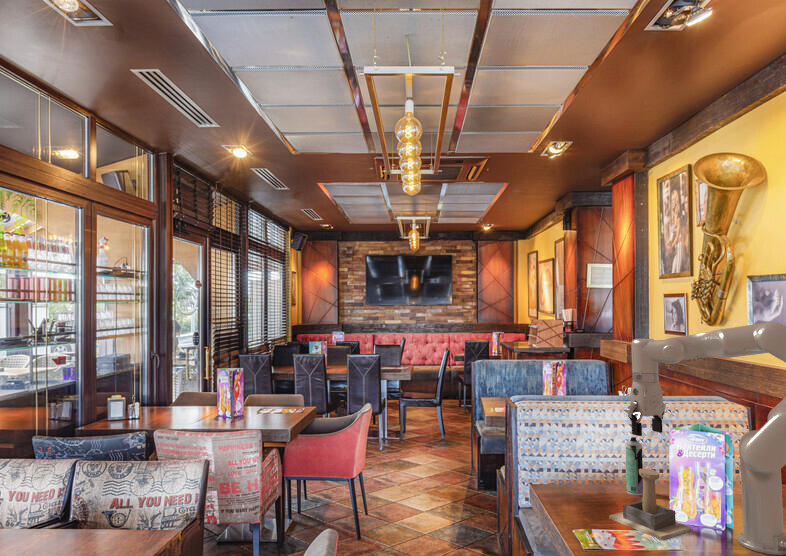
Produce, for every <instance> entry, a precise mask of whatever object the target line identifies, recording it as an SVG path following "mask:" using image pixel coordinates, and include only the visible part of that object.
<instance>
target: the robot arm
mask: <svg viewBox="0 0 786 556" xmlns="http://www.w3.org/2000/svg"><path fill="white" fill-rule="evenodd" d="M630 349H631V371H632V372H631V375H632V377H631V378H632V383H631V391H630V405H628V406H627V407H626V413H627V417H628V418H629V421H630V422H631V435H633V436H637V437H643V423H642V418H643V417H646V418H647V417H652V418H651V427H652V429H651V430H652V432H655V433H663V432H664V431H663V420H664V415H665V409H666V403H664V397H663V390H662V385H661V383H660V376H659V363H663V364H673V365H675V364H678V363H680V362H682V361H686V360H693V359H694V360H696V359H702V358H703V359H704V358H718V359H731V358H738V357H745V356H754V355H755V356H756V355H762V354H770V355H771V356H772V357H773V356H774V357H775V358H776V359H778V360H781V361H782V362H784V363H786V325H785V324H783V323H779V322H775V321H772V322H771V321H770V322H760V323H756V324H755V323H754V324H749V325H741V326H735V327H728V328H727V327H726V328H721V329H720V328H719V329H715V330H711V331H707V332H702V333H701V332H700V333H695V334H689V335H681V336H673V337H668V338H665V339H655V338H634V339H632V340H631V346H630ZM738 448H739V451H738V452H739V462H740V483H741V485H740V487H741V488H740V489H741V491H740V493H741V515H742V518H741V519H742V532H740V533H739V534H737V535H736V541H737V543H739V544H740V545H741V546H742V547H744V548H746V549H748V550H751V551H754V552H757V553H762V554H766V555H773V556H785V555H786V532H784V531H785V530H784V513H783V512H784V511H783V483H782V468H783V467H784V466H786V396H784V397H783V399H782V400H781V401H780V402H778V403H777V404H776V405H775V406H774V407H773V408H772V409H771V410H770V411H769V413H768V415H767V421H766V422H765V424H764V425H763V426H761V428H759V429H758V430H755V429H754V430H749V431H747V432H745V433H744V434H743V435H742V436H741V437H740V440H739V444H738Z"/></svg>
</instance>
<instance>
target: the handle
mask: <svg viewBox="0 0 786 556" xmlns="http://www.w3.org/2000/svg"><path fill="white" fill-rule="evenodd" d="M639 474H640V476H641V477H643V495H642V499H641V500H642V505H643V511H645V512H647V513H650V514H653V515H654V514H656V504H657V493H656V491H657V490H656V480H659V479H660V473H659V471H656V470H653V469H649V468H643V469H639Z"/></svg>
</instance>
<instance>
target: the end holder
mask: <svg viewBox="0 0 786 556" xmlns="http://www.w3.org/2000/svg"><path fill="white" fill-rule="evenodd" d="M608 517H609V518H608V519H609V520H612V521H614V522H617V523H619V524H621V525H624V526H627V527H628V528H631V529H634V530H637V531H638V532H640V533H643V534H646V535H647V536H650V535H651V537H653V536H654V537H653V538H655V537H656V538H655V539H658V540H660V541H663V540H666V539H668V538H672V537H676V536H679V535H681V534H684V533H688V532H691V531H692V527H691V526H689V525H687V524H683V523H680V522H679V521H676V510H674V509H671V508H668V507H666V506H662V505H660V504H657V503H656V514H654V515H653V514H650V513H647V512H645V511H643V505H642V499H641V500H636V501H633V502H630V503H626V504H625V503H624V504H623V505H622V512H617V513H613V514H609V516H608ZM665 538H666V539H665ZM662 539H663V540H662Z"/></svg>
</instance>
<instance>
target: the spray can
mask: <svg viewBox="0 0 786 556" xmlns="http://www.w3.org/2000/svg"><path fill="white" fill-rule="evenodd" d="M643 460H644V459H643V445H642V443H640V442H639V440H637V437H636V436H631V437H630V440H629V441H628V442H626V443H625V467H626V468H625V469H626V470H625V471H626V494H628V495H631V496H636V497H637V496H638V497H640V496H643V477H641V476H640V474H639V469H644V467H643V465H644V464H643V462H644V461H643Z"/></svg>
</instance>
